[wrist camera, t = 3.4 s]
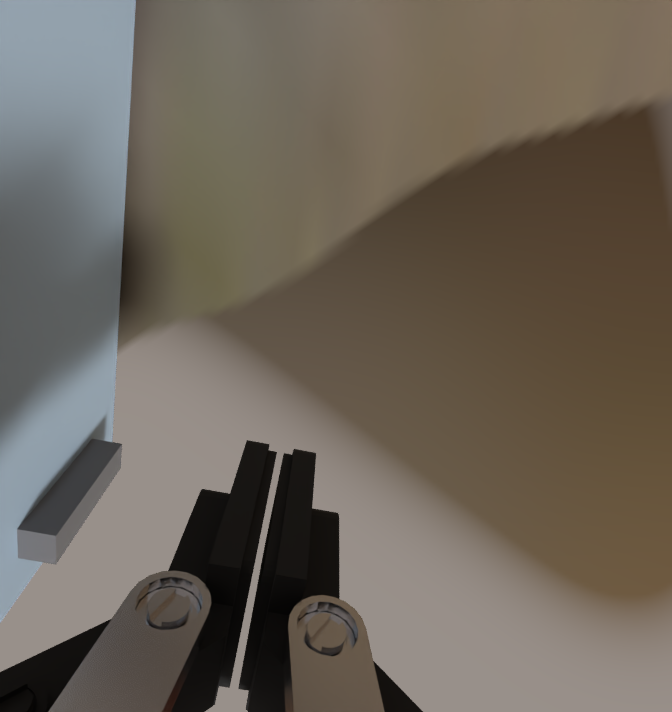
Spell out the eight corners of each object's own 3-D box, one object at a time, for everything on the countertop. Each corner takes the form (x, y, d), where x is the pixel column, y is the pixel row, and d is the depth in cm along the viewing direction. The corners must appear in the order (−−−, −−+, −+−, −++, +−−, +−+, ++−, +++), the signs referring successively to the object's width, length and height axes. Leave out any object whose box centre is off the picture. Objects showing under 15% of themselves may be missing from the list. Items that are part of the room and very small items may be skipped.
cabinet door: (94, -117, 13) (-218, -430, 6) (180, -94, 13) (-19, -374, 6) (79, 460, 20) (-73, 648, 13) (136, 470, 20) (18, 662, 13)
